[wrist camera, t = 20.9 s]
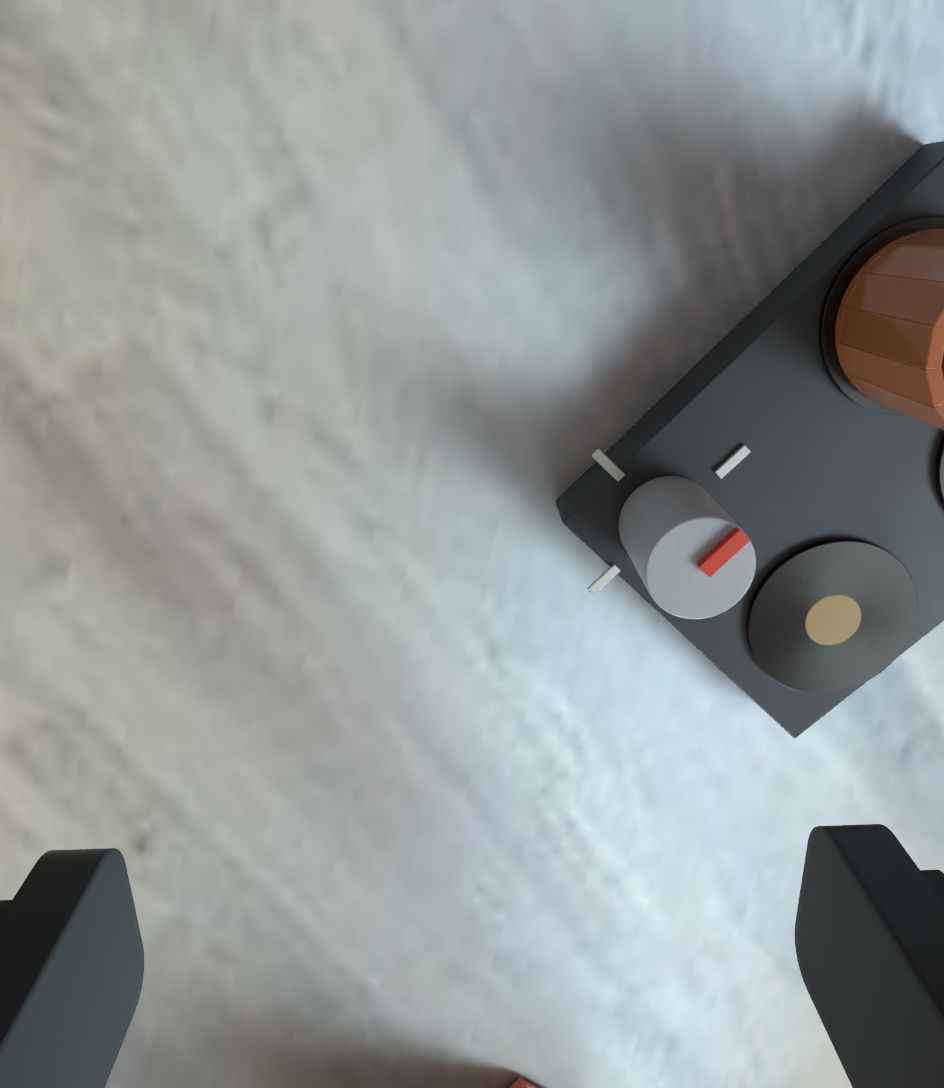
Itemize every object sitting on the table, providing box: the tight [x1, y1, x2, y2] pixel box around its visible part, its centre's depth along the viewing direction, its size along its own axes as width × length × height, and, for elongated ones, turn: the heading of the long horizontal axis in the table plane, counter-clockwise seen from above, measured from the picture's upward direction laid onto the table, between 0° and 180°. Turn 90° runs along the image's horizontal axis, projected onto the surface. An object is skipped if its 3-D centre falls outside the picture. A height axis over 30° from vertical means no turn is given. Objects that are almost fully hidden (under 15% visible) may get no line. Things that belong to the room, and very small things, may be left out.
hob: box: [555, 141, 944, 738], centre depth 32 cm, size 15×19×3 cm
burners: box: [746, 216, 944, 693], centre depth 31 cm, size 14×16×1 cm
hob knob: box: [619, 476, 756, 619], centre depth 29 cm, size 4×4×5 cm
